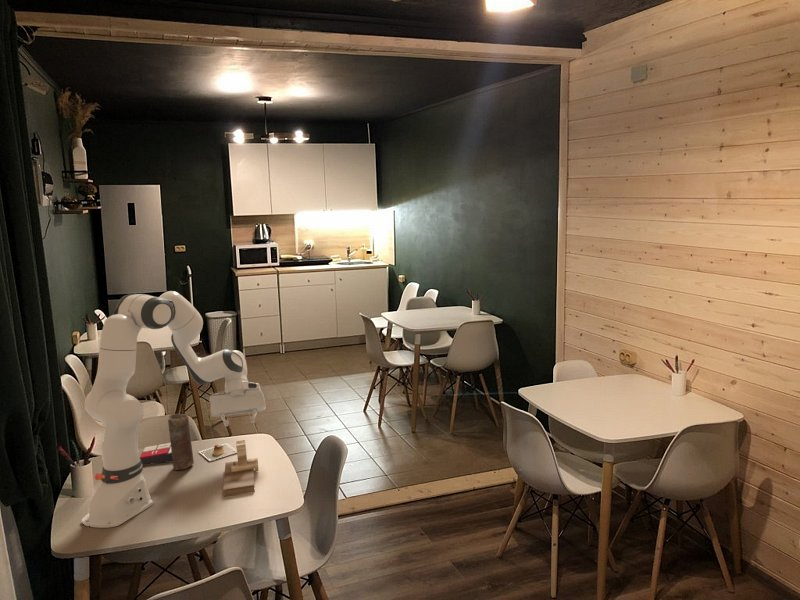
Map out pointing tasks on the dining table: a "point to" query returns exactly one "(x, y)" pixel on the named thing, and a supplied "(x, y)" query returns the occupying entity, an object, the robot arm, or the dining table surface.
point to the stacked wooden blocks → (243, 459)
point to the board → (238, 481)
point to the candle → (180, 441)
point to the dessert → (219, 450)
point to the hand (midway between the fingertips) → (239, 423)
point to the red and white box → (156, 454)
